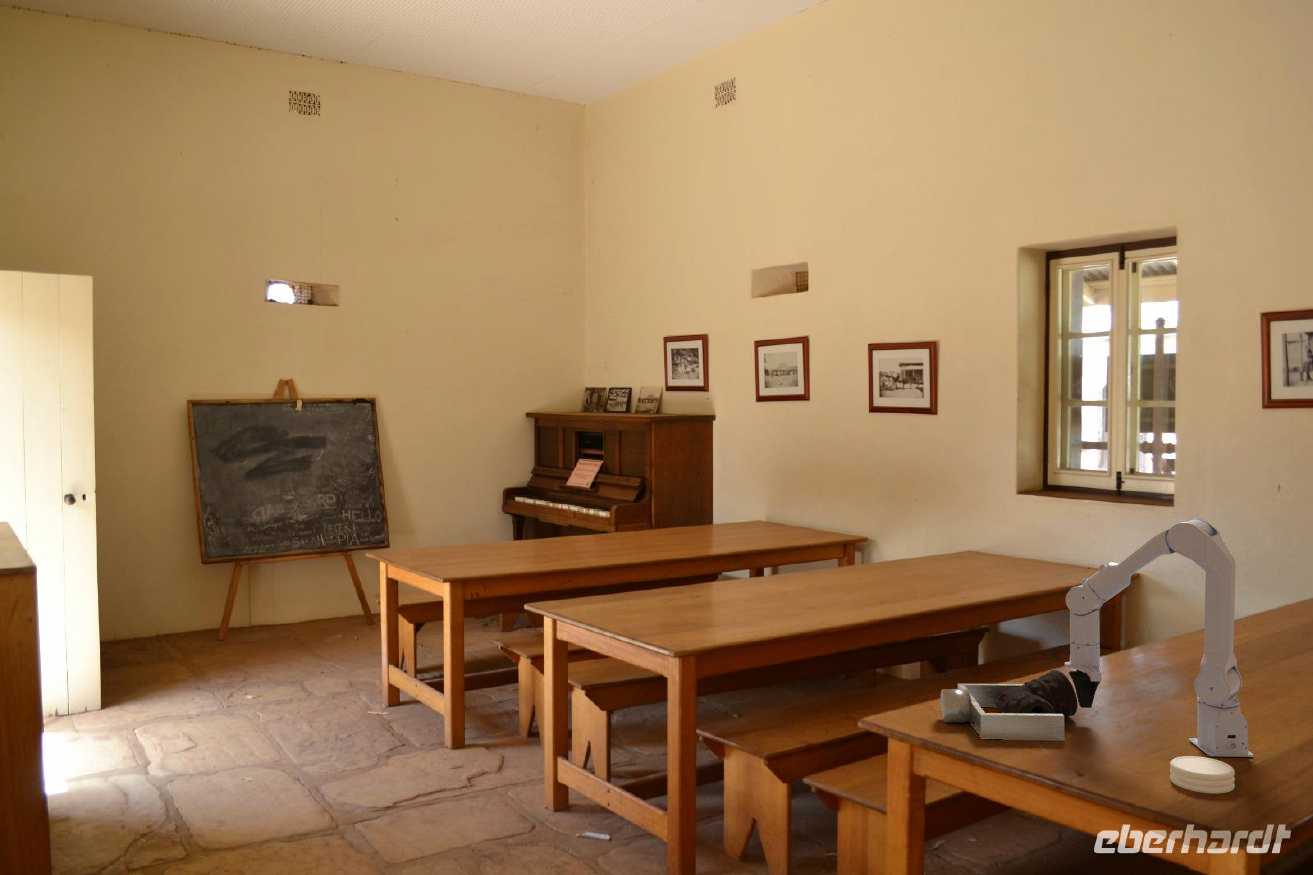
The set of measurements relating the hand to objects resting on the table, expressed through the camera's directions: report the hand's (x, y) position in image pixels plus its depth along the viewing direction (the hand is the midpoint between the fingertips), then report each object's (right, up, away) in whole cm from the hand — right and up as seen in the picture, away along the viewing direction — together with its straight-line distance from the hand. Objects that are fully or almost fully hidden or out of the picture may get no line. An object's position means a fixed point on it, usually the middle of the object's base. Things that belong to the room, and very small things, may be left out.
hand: (1085, 706), depth 212 cm
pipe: (-9, -4, +3) cm, 10 cm away
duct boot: (-18, -4, +2) cm, 19 cm away
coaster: (+6, -5, -35) cm, 35 cm away
